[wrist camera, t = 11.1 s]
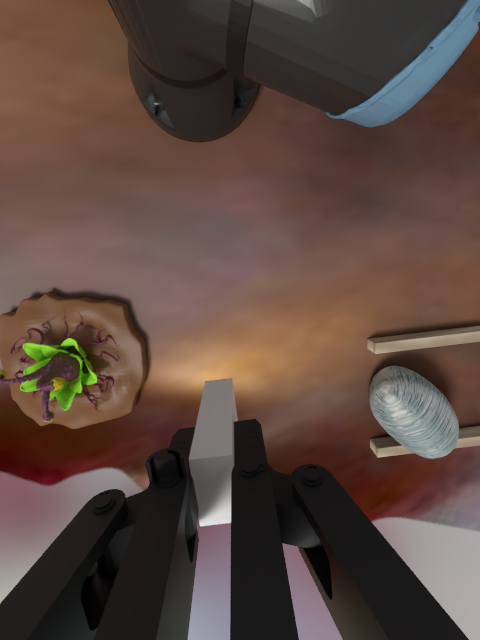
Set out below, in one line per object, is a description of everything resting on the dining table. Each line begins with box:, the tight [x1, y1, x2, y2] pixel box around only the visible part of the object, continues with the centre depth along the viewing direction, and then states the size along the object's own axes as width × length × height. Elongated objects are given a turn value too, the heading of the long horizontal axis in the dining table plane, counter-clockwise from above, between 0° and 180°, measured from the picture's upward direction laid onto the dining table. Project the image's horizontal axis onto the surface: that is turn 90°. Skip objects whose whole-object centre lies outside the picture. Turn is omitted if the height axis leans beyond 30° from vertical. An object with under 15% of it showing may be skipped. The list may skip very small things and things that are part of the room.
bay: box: [367, 326, 480, 457], centre depth 44 cm, size 18×20×2 cm
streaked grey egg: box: [369, 366, 459, 458], centre depth 42 cm, size 14×10×10 cm
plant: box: [0, 292, 147, 429], centre depth 38 cm, size 20×20×11 cm
